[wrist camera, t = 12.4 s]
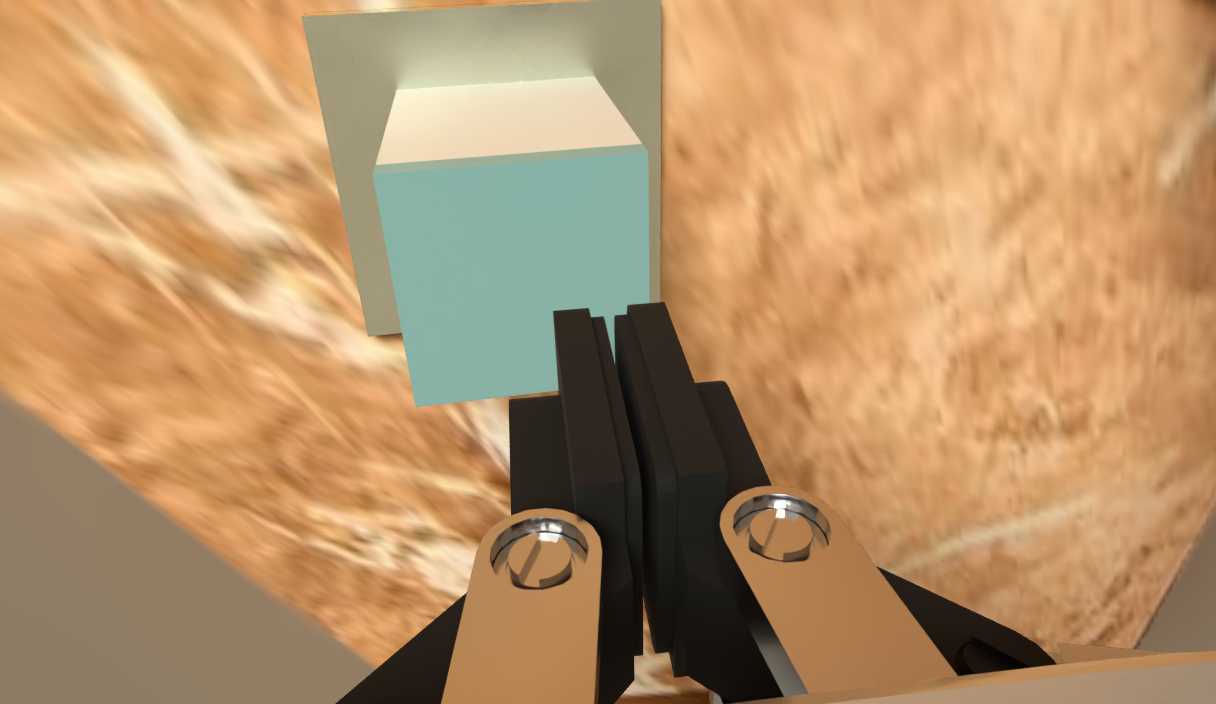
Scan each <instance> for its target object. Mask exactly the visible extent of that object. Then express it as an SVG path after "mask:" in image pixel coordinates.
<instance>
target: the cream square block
mask: <svg viewBox="0 0 1216 704" xmlns="http://www.w3.org/2000/svg"><path fill="white" fill-rule="evenodd" d="M302 20H303V24H304V29H305V34H306V39H307V44H308V48H309V53H310V58H311V63H312V68H313V73H314V77H315V82H316V87H317V92H318V97H319V101H320V106H321V111H322V116H323V121H324V126H325V130H326V135H327V140H328V145H329V150H330V154H331V159H332V164H333V169H334V174H335V178H336V183H337V188H338V193H339V198H340V203H341V207H342V212H343V217H344V222H345V227H346V231H347V236H348V241H349V246H350V251H351V256H352V260H353V265H354V270H355V275H356V280H357V284H358V289H359V294H360V299H361V304H362V309H363V313H364V318H365V323H366V328H367V333H368V336H378V335H388V334H397V333H402V330H401V325H400V319H399V314H398V309H397V303H396V298H395V292H394V287H393V282H392V276H391V271H390V266H389V260H388V255H387V249H386V244H385V239H384V233H383V228H382V222H381V217H380V212H379V206H378V201H377V196H376V190H375V185H374V179H373V172H374V168H375V165H376V161H377V157H378V154H379V150H380V147H381V143H382V140H383V136H384V133H385V129H386V126H387V122H388V119H389V115H390V112H391V108H392V104H393V101H394V97H395V94H396V90H405V89H419V88H434V87H449V86H463V85H478V84H492V83H507V82H522V81H536V80H551V79H565V78H580V77H595V78H596V79H597V81H598V82H599V84H600V85H601V87H602V88H603V89H604V91H605V92H606V94H607V95H608V96H609V98H610V99H611V101H612V102H613V103H614V105H615V106H616V108H617V109H618V110H619V112H620V113H621V115H622V116H623V117H624V119H625V120H626V122H627V123H628V124H629V126H630V127H631V129H632V130H633V132H634V133H635V134H636V136H637V137H638V139H639V140H640V141H641V143H642V144H643V146H644V147H645V148H646V150H647V151H648V172H649V303H657V302H660V252H661V0H541V1H523V2H504V3H485V4H467V5H448V6H430V7H411V8H392V9H374V10H355V11H337V12H318V13H305V14H304V15H303V16H302Z"/></svg>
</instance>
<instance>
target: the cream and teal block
mask: <svg viewBox="0 0 1216 704" xmlns="http://www.w3.org/2000/svg"><path fill="white" fill-rule="evenodd" d="M373 179H374V185H375V190H376V196H377V201H378V206H379V212H380V217H381V222H382V228H383V233H384V239H385V244H386V249H387V255H388V260H389V266H390V271H391V276H392V282H393V287H394V292H395V298H396V303H397V309H398V314H399V319H400V325H401V330H402V336H403V341H404V346H405V352H406V357H407V362H408V368H409V373H410V379H411V384H412V389H413V395H414V400H415V406H416V407H421V406H429V405H438V404H446V403H455V402H464V401H472V400H481V399H490V398H498V397H507V396H515V395H524V394H533V393H541V392H550V391H559V390H558V376H557V362H556V348H555V335H554V320H553V311H556V310H569V309H581V308H589V310H590V315H591V317H600V316H604V319H605V323H606V327H607V331H608V336H609V340H610V344H611V349H612V353H613V357H614V362H615V340H614V316H615V315H624V314H627V306H628V305H632V304H644V303H649V172H648V151H647V150H646V148H645V147H644V146H643V144H642V143H641V141H640V140H639V139H638V137H637V136H636V134H635V133H634V132H633V130H632V129H631V127H630V126H629V124H628V123H627V122H626V120H625V119H624V117H623V116H622V115H621V113H620V112H619V110H618V109H617V108H616V106H615V105H614V103H613V102H612V101H611V99H610V98H609V96H608V95H607V94H606V92H605V91H604V89H603V88H602V87H601V85H600V84H599V82H598V81H597V79H596V78H595V77H580V78H565V79H551V80H536V81H522V82H507V83H492V84H478V85H463V86H449V87H434V88H419V89H405V90H396V94H395V97H394V101H393V104H392V108H391V112H390V115H389V119H388V122H387V126H386V129H385V133H384V136H383V140H382V143H381V147H380V150H379V154H378V157H377V161H376V165H375V168H374V172H373Z"/></svg>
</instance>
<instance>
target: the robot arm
mask: <svg viewBox="0 0 1216 704" xmlns="http://www.w3.org/2000/svg"><path fill="white" fill-rule="evenodd" d="M553 320H554V335H555V348H556V362H557V376H558V390H559V395H555V396H543V397H532V398H521V399H509V433H510V483H511V516H509V517H507V518H505V519H504V520H502V521H500V522H499V523H497V524H496V525H494V526H493V527H492V528H491V529H490V530H489V531H488V532H487V534H486V535H485V536H484V537H483V538H482V541H481V543H480V545H479V547H478V549H477V552H476V556H475V561H474V565H473V569H472V573H471V578H470V582H469V586H468V591H467V593H466V594H465V595H463V596H462V597H461V598H460V599H459V600H457V601H456V602H455V603H454V604H453V605H452V606H450V607H449V608H448V609H447V610H446V611H444V612H443V613H442V614H441V615H440V616H439V617H437V618H436V619H435V620H434V621H433V622H431V623H430V624H429V625H428V626H427V627H426V628H424V629H423V630H422V631H421V632H420V633H418V634H417V635H416V636H415V637H414V638H413V639H411V640H410V641H409V642H408V643H407V644H405V645H404V646H403V647H402V648H401V649H400V650H398V651H397V652H396V653H395V654H394V655H392V656H391V657H390V658H389V659H388V660H387V661H385V662H384V663H383V664H382V665H381V666H379V667H378V668H377V669H376V670H375V671H374V672H372V673H371V674H370V675H369V676H368V677H366V678H365V679H364V680H363V681H362V682H361V683H359V684H358V685H357V686H356V687H355V688H354V689H352V690H351V691H350V692H349V693H348V694H346V695H345V696H344V697H343V698H342V699H340V700H339V701H338V702H337V703H336V704H614V703H615V702H616V701H617V700H618V698H619V697H620V696H621V695H622V694H623V693H624V691H625V690H626V689H627V688H628V687H629V686H630V684H631V683H632V682H633V681H634V656H640V655H643V598H644V603H645V608H646V613H647V618H648V623H649V628H650V633H651V639H652V644H653V648H654V651H655V653H656V654H657V653H665V652H669V655H670V660H671V664H672V669H673V673H674V678H675V677H683V676H689V677H690V678H692V679H694V680H695V681H697V682H698V683H700V684H702V685H703V686H705V687H706V688H708V689H709V690H710V691H709V700H710V704H1216V651H1204V652H1187V653H1173V652H1161V651H1149V650H1137V649H1125V648H1113V647H1101V646H1089V645H1077V644H1065V643H1057V644H1056V646H1055V649H1054V651H1053V653H1051V652H1045V651H1044V650H1043V649H1042V648H1040V647H1039V646H1038V645H1037V644H1036V643H1034V642H1033V641H1031V640H1029V639H1028V638H1026V637H1024V636H1022V635H1021V634H1019V633H1017V632H1016V631H1014V630H1012V629H1009V628H1007V627H1005V626H1003V625H1001V624H999V623H997V622H994V621H992V620H990V619H988V618H986V617H984V616H982V615H979V614H977V613H975V612H973V611H971V610H969V609H967V608H965V607H962V606H960V605H958V604H956V603H954V602H952V601H950V600H947V599H945V598H943V597H941V596H939V595H937V594H935V593H932V592H930V591H928V590H926V589H924V588H922V587H920V586H918V585H915V584H913V583H911V582H909V581H907V580H905V579H903V578H900V577H898V576H896V575H894V574H892V573H890V572H888V571H885V570H883V569H881V568H879V567H877V566H876V565H875V564H874V563H873V561H872V560H871V559H870V557H869V556H868V555H867V553H866V552H865V551H864V549H863V548H862V547H861V545H860V544H859V543H858V541H857V540H856V539H855V537H854V536H853V535H852V533H851V532H850V531H849V529H848V528H847V527H846V525H845V524H844V523H843V521H842V520H841V518H840V517H839V516H838V514H837V513H836V512H835V511H834V510H833V509H832V508H831V507H830V506H829V505H828V504H827V503H826V502H824V501H822V500H821V499H819V498H817V497H815V496H814V495H812V494H810V493H808V492H804V491H801V490H798V489H795V488H792V487H783V486H774V485H773V486H772V485H771V483H770V480H769V478H768V476H767V474H766V471H765V469H764V467H763V464H762V462H761V460H760V458H759V455H758V453H757V451H756V448H755V446H754V444H753V442H752V439H751V437H750V435H749V432H748V430H747V428H746V425H745V423H744V421H743V419H742V416H741V414H740V412H739V409H738V407H737V405H736V403H735V400H734V398H733V396H732V393H731V391H730V389H729V387H728V385H727V383H726V382H724V381H713V382H702V383H695V382H694V380H693V377H692V374H691V372H690V369H689V366H688V364H687V361H686V358H685V356H684V353H683V350H682V348H681V345H680V342H679V340H678V337H677V334H676V332H675V329H674V326H673V324H672V321H671V318H670V316H669V313H668V310H667V308H666V305H665V303H664V302H657V303H644V304H632V305H628V306H627V314H624V315H615V316H614V340H615V362H614V357H613V353H612V349H611V344H610V340H609V336H608V331H607V327H606V323H605V319H604V316H600V317H591V315H590V310H589V308H581V309H569V310H556V311H553Z"/></svg>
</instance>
